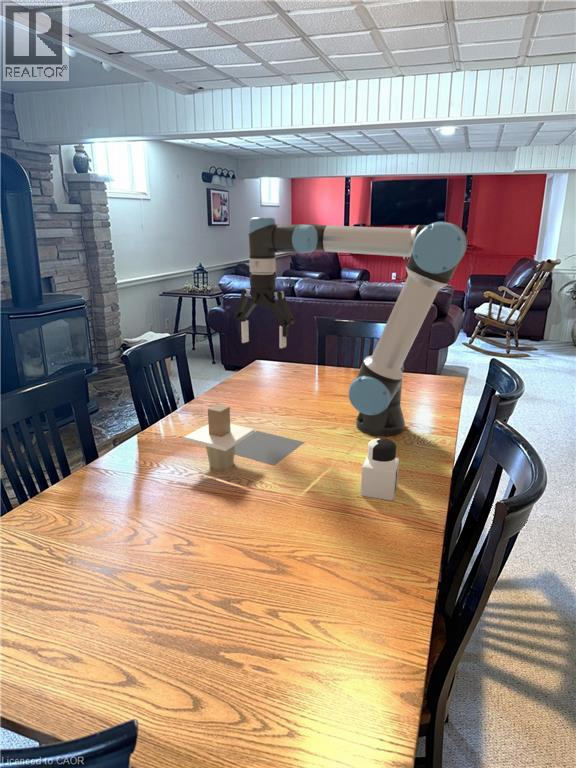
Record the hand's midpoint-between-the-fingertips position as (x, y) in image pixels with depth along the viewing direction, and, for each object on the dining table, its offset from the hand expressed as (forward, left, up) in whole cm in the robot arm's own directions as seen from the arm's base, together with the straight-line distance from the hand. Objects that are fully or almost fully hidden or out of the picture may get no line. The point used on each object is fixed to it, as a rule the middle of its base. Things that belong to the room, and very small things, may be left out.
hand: (263, 344), depth 151 cm
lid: (-5, +29, -18) cm, 35 cm away
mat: (-9, +14, -27) cm, 31 cm away
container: (-46, +20, -27) cm, 57 cm away
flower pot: (-5, +29, -27) cm, 40 cm away
